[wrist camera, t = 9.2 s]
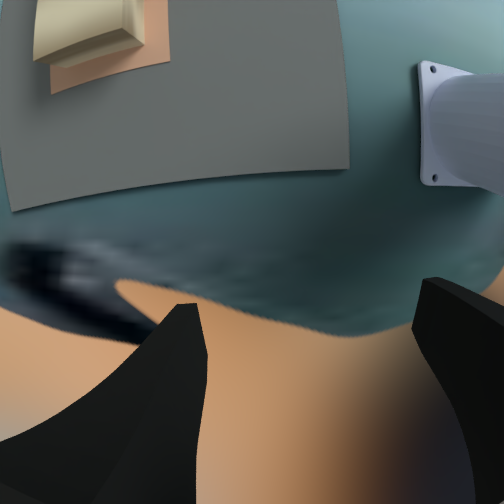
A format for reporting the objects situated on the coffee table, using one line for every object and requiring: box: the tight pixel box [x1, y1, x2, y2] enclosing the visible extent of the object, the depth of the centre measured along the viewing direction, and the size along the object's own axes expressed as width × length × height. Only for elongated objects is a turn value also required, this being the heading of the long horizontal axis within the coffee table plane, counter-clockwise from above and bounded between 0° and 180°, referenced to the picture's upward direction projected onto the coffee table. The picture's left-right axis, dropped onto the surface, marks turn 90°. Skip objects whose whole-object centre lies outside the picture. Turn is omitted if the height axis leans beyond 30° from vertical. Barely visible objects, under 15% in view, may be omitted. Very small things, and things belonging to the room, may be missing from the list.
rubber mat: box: [0, 0, 350, 212], centre depth 12 cm, size 22×22×1 cm
